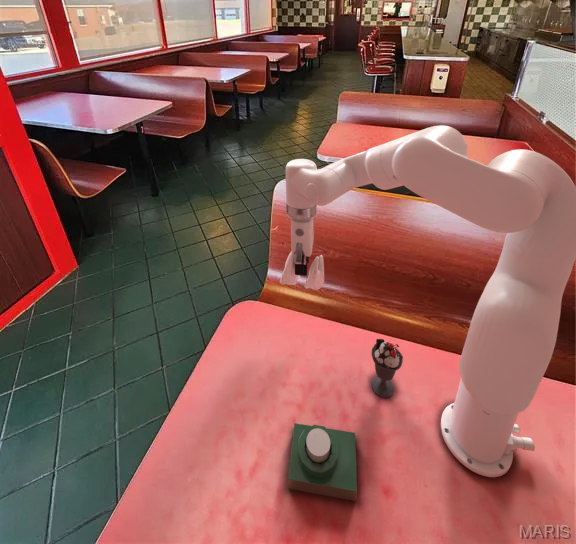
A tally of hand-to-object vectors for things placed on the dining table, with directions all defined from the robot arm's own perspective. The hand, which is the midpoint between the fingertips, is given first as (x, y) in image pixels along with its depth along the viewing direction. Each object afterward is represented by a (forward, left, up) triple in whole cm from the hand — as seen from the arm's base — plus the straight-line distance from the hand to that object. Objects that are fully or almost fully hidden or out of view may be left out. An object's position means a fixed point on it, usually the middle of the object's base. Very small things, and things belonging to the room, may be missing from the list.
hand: (302, 268), depth 88 cm
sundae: (-21, +17, -18) cm, 32 cm away
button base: (-8, +34, -18) cm, 39 cm away
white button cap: (-7, +34, -13) cm, 37 cm away
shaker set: (0, 0, -6) cm, 6 cm away
